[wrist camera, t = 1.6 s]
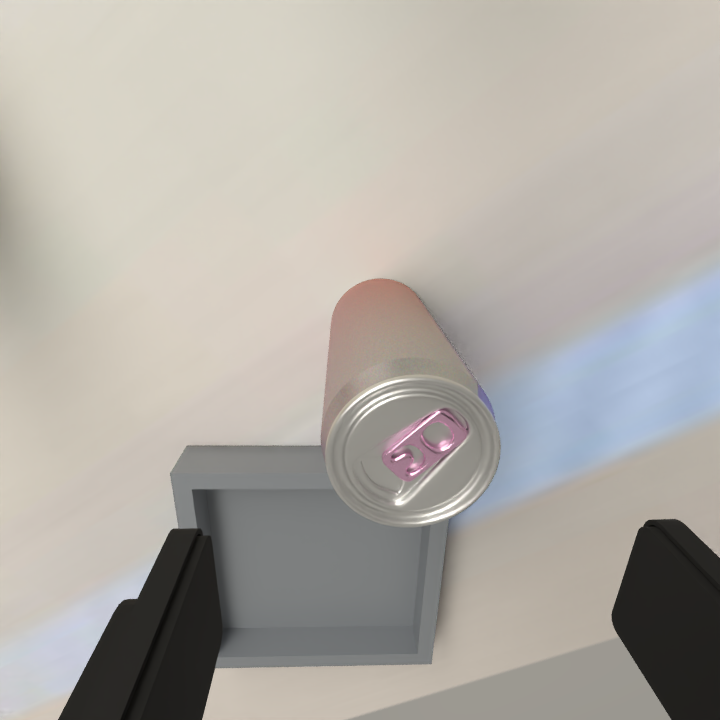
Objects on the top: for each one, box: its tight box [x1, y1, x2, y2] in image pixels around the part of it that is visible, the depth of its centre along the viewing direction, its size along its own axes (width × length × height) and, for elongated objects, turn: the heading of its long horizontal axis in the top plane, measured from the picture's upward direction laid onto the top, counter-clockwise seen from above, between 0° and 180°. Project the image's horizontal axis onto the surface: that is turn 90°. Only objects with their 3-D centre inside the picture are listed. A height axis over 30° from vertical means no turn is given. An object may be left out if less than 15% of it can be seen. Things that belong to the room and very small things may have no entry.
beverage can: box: [321, 279, 501, 527], centre depth 21 cm, size 6×6×15 cm
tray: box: [170, 446, 449, 668], centre depth 33 cm, size 18×18×3 cm
